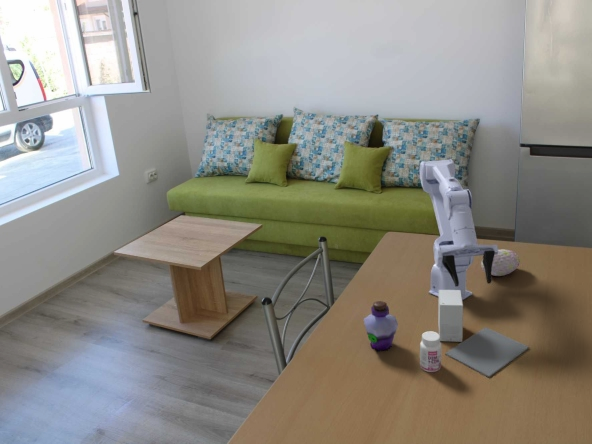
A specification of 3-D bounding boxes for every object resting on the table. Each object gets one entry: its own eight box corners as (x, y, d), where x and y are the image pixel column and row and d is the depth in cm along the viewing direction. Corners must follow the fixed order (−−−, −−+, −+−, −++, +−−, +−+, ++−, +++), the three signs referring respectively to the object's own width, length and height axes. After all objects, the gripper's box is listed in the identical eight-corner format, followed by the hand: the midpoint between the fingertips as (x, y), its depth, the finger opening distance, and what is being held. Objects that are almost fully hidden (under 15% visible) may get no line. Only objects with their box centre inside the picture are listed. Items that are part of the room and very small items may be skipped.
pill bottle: (429, 375, 126) (429, 344, 123) (415, 364, 130) (415, 334, 127) (445, 368, 128) (446, 337, 124) (431, 357, 132) (431, 327, 128)
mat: (445, 354, 132) (445, 353, 132) (485, 328, 141) (485, 327, 141) (488, 377, 123) (488, 376, 123) (528, 348, 132) (529, 346, 132)
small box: (462, 342, 136) (463, 305, 132) (439, 341, 137) (439, 305, 133) (460, 325, 143) (461, 289, 139) (438, 324, 145) (438, 288, 141)
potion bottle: (360, 352, 136) (357, 310, 132) (368, 333, 143) (366, 292, 139) (394, 357, 133) (393, 314, 128) (401, 337, 140) (401, 296, 136)
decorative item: (472, 262, 165) (494, 236, 163) (483, 269, 174) (504, 244, 172) (495, 281, 159) (518, 255, 158) (505, 287, 168) (528, 262, 166)
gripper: (435, 229, 137) (443, 281, 131) (495, 223, 135) (506, 275, 129) (433, 241, 144) (442, 290, 138) (491, 235, 142) (502, 285, 136)
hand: (473, 283), depth 134 cm, fingers open, 7 cm apart
